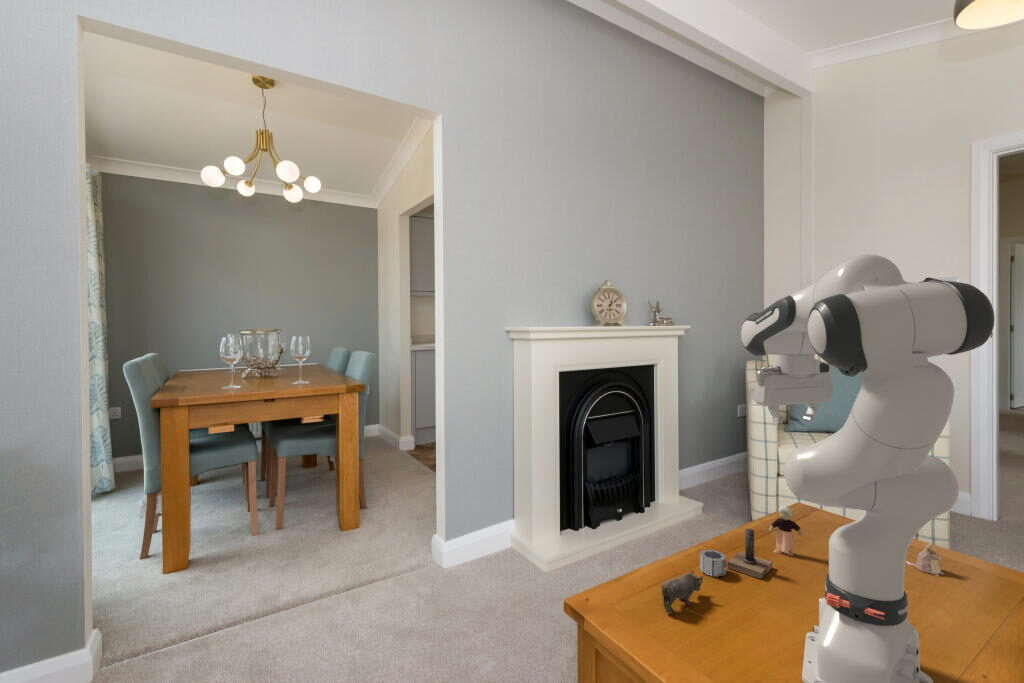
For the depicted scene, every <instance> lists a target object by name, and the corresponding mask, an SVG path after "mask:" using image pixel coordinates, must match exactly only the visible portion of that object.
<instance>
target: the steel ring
mask: <svg viewBox="0 0 1024 683" xmlns="http://www.w3.org/2000/svg"><path fill="white" fill-rule="evenodd" d="M699 569H701V570H700V572H702V573H703V572H704V573H705V574H704V573H703V574H704V575H707V576H709V575H710V576H709V577H715V578H716V577H717V578H720V577H719V576H722V577H724V576H726V575H727V556H726V555H725V553H723V552H722V551H718V550H716V549H702V550H701V551H700V552H699Z"/></svg>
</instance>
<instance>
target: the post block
mask: <svg viewBox="0 0 1024 683" xmlns="http://www.w3.org/2000/svg"><path fill="white" fill-rule="evenodd" d="M744 531H745V532H744V533H745V534H744V535H745V536H744V538H745V540H744V541H745V543H744V544H745V551H744V552H741V551H738V552H737V553H736V554H735V555H734V556H732V557H731V558H730V559H729V560H728V561H726V568H727V567H728V568H727V569H729V568H730V570H732V569H733V571H735V570H736V572H738V571H739V573H741V574H742V573H743V574H744V575H748V576H750V577H754V578H757V579H760V580H762V579H763V578H764V577H765V576H766V575H767V574H768V573H769V572H770V571H771V569H773V561H772V560H768V559H765V558H762V557H758V556H755V530H754V529H752V528H746V529H745V530H744Z"/></svg>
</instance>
